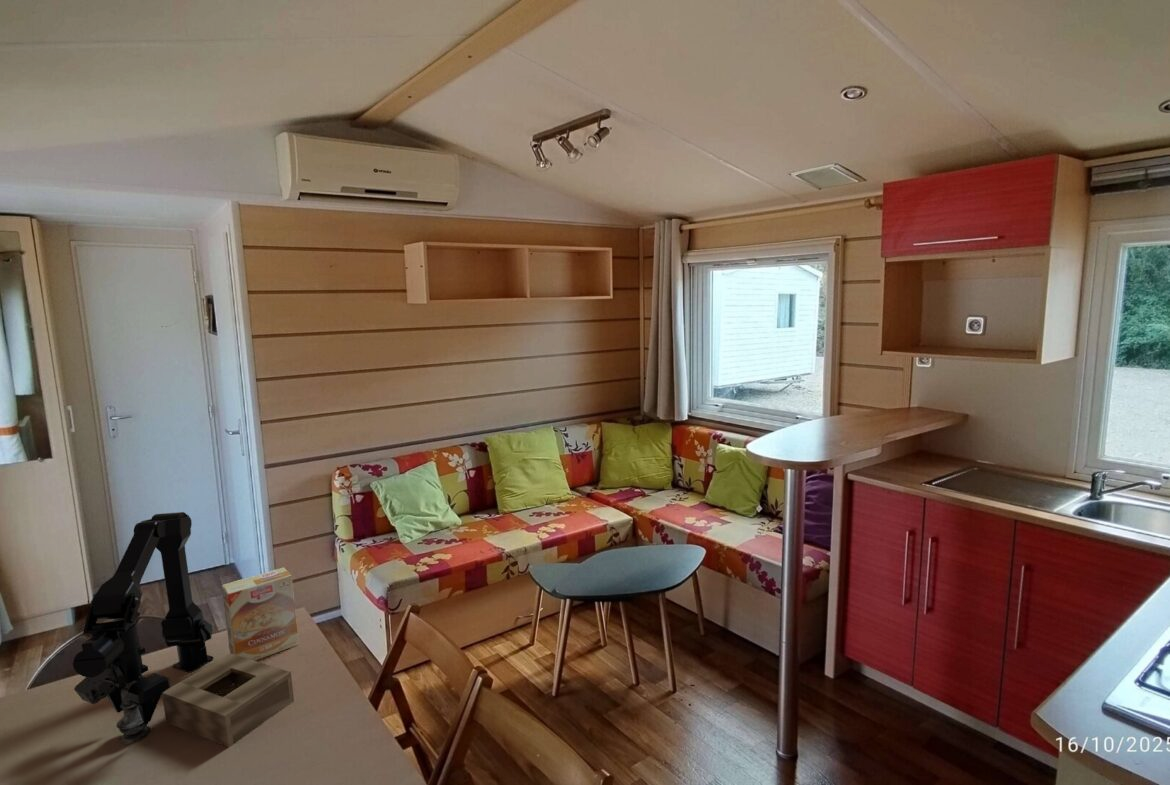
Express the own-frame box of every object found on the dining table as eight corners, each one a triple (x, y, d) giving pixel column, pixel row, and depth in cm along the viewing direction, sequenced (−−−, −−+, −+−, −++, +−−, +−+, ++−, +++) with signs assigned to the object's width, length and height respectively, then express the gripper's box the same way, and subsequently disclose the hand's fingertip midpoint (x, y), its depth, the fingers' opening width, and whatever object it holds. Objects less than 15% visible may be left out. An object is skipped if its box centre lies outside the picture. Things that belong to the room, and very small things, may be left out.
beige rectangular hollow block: (166, 722, 138) (161, 692, 137) (233, 680, 152) (230, 653, 151) (229, 747, 129) (224, 715, 128) (294, 700, 144) (290, 671, 143)
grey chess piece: (135, 746, 131) (126, 692, 129) (111, 742, 132) (102, 689, 130) (159, 726, 136) (151, 675, 134) (136, 723, 137) (128, 672, 135)
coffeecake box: (236, 668, 157) (227, 594, 154) (229, 656, 162) (220, 584, 159) (300, 644, 167) (292, 574, 163) (291, 634, 172) (283, 565, 169)
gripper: (50, 659, 128) (63, 729, 130) (107, 680, 120) (119, 755, 122) (111, 631, 137) (122, 697, 140) (166, 649, 130) (177, 719, 132)
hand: (133, 716), depth 133 cm, fingers open, 9 cm apart
